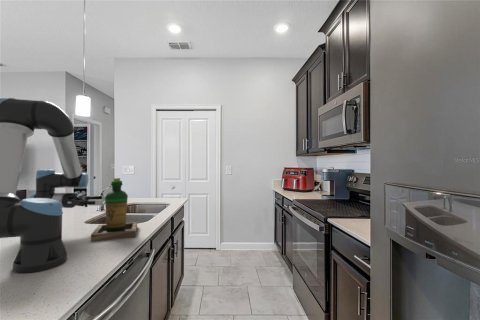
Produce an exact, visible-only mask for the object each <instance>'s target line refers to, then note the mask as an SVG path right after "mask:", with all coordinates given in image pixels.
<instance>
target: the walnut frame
mask: <svg viewBox="0 0 480 320" xmlns="http://www.w3.org/2000/svg"><path fill="white" fill-rule="evenodd" d="M137 230H138V221H133V222H126V226H125V231H117V232H107V227H106V223H104V224H98V225H97V227H96V228H95V229H94V230H93V232H92V233H90V242H97V241H108V240H117V239H119V240H120V239H129V238H131V239H132V238H136V236H137Z"/></svg>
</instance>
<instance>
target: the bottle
mask: <svg viewBox="0 0 480 320" xmlns="http://www.w3.org/2000/svg"><path fill="white" fill-rule="evenodd" d="M110 186H111V189H112V190H111V191H108V193H107V194H106V195H104V196H105V201H104V203H105V205H104V206H105V222H106V223H105V224H106V227H107V232H117V231H125V226H126V223H127V210H128V194H127V192H126V191H124V190H122V186H123V181H122V180H121V178H119V177H116V178H115V177H114V178H113V180H112V181H111V184H110Z"/></svg>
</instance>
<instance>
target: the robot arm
mask: <svg viewBox="0 0 480 320" xmlns="http://www.w3.org/2000/svg"><path fill="white" fill-rule="evenodd" d="M35 130H46V131H47V134H48V136H50V137H52V140H53V144H54V148H55V150H56V153H57V157H58V160H59V163H60V166H61V170H62V172H56V170H55V169H50V168H49V169H45V168H44V169H38V170H36V171H35V172H36V174H35V192H34V193H32V194H30V195H29V198H23V199H20V197H18V195H17V190H18V184H19V180H20V175H21V172H22V171H21V170H22V166H23V162H24V157H25V151H26V148H27V147H26V146H27V141H28V138H29V137H32V136H33V135H34V132H35ZM74 133H75V128H74V124H73V122H72V119H71V118H70V116H69V115H68V114H67V113H66V112H65V111H64V110H63V109H61V108H60V107H59V106H58V105H56V104H55V103H52V102H49V101H45V100H33V99H19V98H18V99H17V98H14V97H9V98H5V97H4V98H3V97H2V98H0V239H6V238H7V239H8V238H19V240H20V241H19V243H20V244H19V248H18V250H17V253H16V255H15V258H14V260H13V262H12V271H13V272H14V273H18V274H19V273H21V274H23V273H24V274H27V273H35V272H41V271H45V270H49V269H52V268H56V267H58V266H60V265H61V264H64V263H66V261H68V252H67V249H66V247H65V244H64V241H63V237H62V236H63V214H64V213H63V209H72V208H74V207H76V206H77V207H84V208H88V206H103V205H104V202H105V196H106V195H104V194H102V193H101V194H100V195H77V194H76V193H75V192H55V191H56V189H63V188H64V189H66V188H67V189H68V188H71V189H72V188H74V189H75V188H76V189H77V188H85V187H88V184H89V174H88V173H86V172H82V171H83V170H82V168H81V163H80V159H79V155H78V151H77V147H76V142H75V140H74V135H73V134H74Z"/></svg>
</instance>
